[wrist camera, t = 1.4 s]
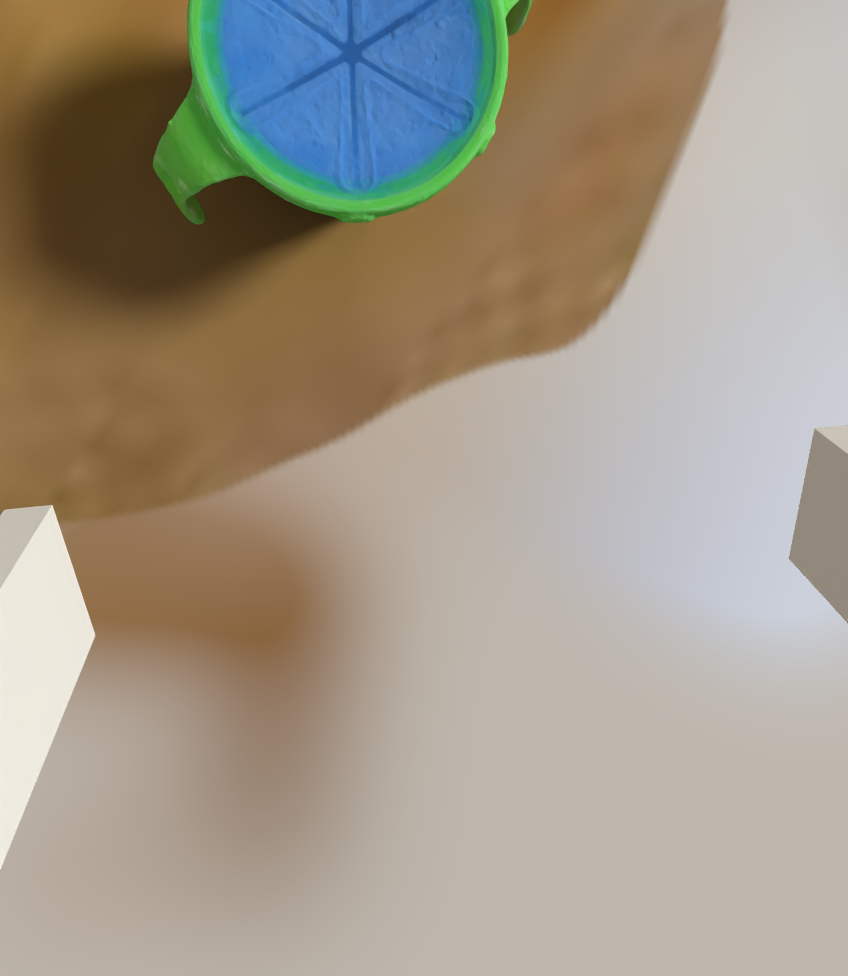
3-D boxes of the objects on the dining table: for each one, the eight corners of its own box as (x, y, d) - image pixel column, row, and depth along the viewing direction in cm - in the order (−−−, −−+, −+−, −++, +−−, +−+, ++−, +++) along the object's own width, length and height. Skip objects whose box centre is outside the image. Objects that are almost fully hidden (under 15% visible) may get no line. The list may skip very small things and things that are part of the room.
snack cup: (232, 308, 36) (210, 298, 26) (116, 77, 34) (43, -30, 24) (535, 167, 37) (624, 106, 27) (444, -67, 35) (505, -227, 25)
